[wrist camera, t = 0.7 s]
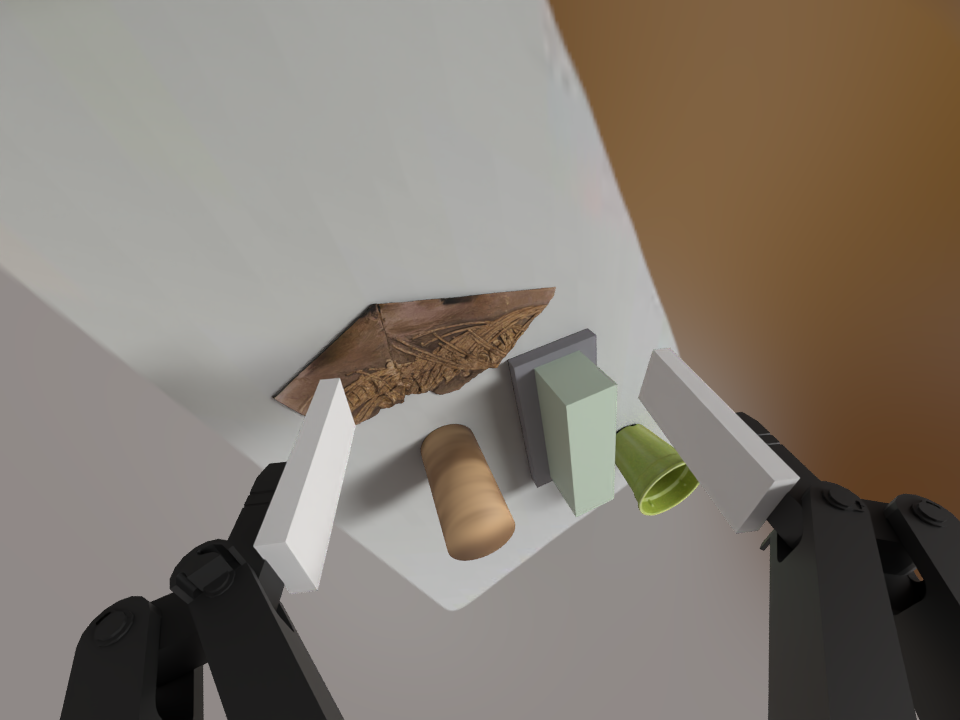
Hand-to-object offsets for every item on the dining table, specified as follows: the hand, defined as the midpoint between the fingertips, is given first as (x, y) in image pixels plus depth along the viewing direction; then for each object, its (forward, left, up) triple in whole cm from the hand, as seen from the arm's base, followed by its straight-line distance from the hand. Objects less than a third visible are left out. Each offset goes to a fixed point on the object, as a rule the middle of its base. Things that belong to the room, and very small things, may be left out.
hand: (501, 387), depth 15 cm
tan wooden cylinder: (+19, -3, -16) cm, 25 cm away
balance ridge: (+21, +10, -16) cm, 28 cm away
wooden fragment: (+6, -2, -16) cm, 18 cm away
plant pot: (+32, +20, -16) cm, 41 cm away
